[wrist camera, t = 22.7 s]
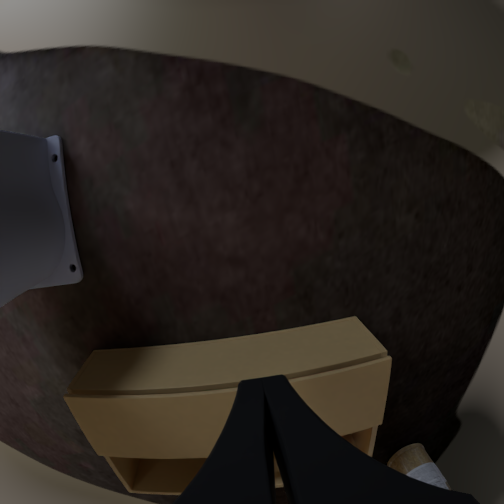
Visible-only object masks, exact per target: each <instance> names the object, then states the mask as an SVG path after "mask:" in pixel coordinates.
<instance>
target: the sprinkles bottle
mask: <svg viewBox="0 0 504 504" xmlns="http://www.w3.org/2000/svg"><path fill="white" fill-rule="evenodd" d="M387 466H388V467H390V468H393V469H395V470H397V471H399V472H401V473H403V474H405V475H407V476H409V477H412V478H415V479H417V480H420V481H423V482H425V483H428V484H431V485H434V486H437V487H441V488H444V489H449V490H451V488H450V487H449V485H448V483H447V481H446V479H445V478H444V476H443V475H442V473H441V472H440V470H439V469H438V467H437V466H436V464H435V463H433V461H432V460H431V458H430V457H429V455H428V454H427V453H426V451H425V449H424V446H423V445H422V444H420V443H415V444H411V445H408V446H406V447H404V448H402V449H400V450H399V451H397V452H396V453H395V454H394V455H393V456H392V457H391V458H390V459H389V461H388V463H387Z"/></svg>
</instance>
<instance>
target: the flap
mask: <svg viewBox="0 0 504 504" xmlns="http://www.w3.org/2000/svg"><path fill="white" fill-rule="evenodd" d="M391 363H392V358H391V357H390V356H387V357H384V358H380V359H377V360H373V361H369V362H365V363H362V364H358V365H354V366H350V367H346V368H341V369H337V370H333V371H328V372H324V373H319V374H314V375H309V376H304V377H299V378H294V379H288V381H289V382H290V384H291V385H292V387H293V388H294V389H295V391H296V392H297V393H298V394H299V396H300V397H301V398H302V399H303V400H304V402H305V403H306V404H307V405H308V406H309V407H310V408H311V409H312V410H313V411H314V412H315V413H316V414H317V415H318V416H319V417H320V418H321V419H322V420H323V421H324V422H325V423H326V424H327V425H328V426H329V427H331V428H332V429H333V430H334V431H335V432H336V433H338V434H339V435H340V436H343V435H347V434H351V433H354V432H358V431H361V430H365V429H368V428H371V427H374V426H378V425H381V424H382V421H383V416H384V410H385V404H386V399H387V392H388V386H389V379H390V371H391ZM237 389H238V387H236V388H228V389H219V390H209V391H198V392H186V393H172V394H152V395H80V394H64V396H63V397H64V399H65V401H66V403H67V405H68V407H69V408H70V410H71V412H72V414H73V416H74V417H75V419H76V421H77V423H78V424H79V426H80V428H81V429H82V431H83V433H84V434H85V436H86V437H87V439H88V441H89V442H90V444H91V445H92V447H93V448H94V450H95V451H96V453H97V454H98V455H100V456H111V457H124V458H146V459H186V458H208V456H209V454H210V453H211V451H212V449H213V447H214V445H215V443H216V442H217V440H218V438H219V436H220V434H221V432H222V430H223V428H224V426H225V423H226V421H227V418H228V416H229V414H230V411H231V409H232V406H233V403H234V400H235V397H236V393H237Z"/></svg>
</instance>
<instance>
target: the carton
mask: <svg viewBox="0 0 504 504" xmlns="http://www.w3.org/2000/svg"><path fill="white" fill-rule="evenodd" d="M384 357H387V350H386V349H385V348H384V347H383V345H382V344H381V343H380V342H379V341H378V340H377V339H376V338H375V337H374V336H373V334H372V333H371V332H370V331H369V330H368V329H367V328H366V327H365V326H364V325H363V324H362V322H361V321H360V320H359V319H358V318H357V317H356V316H353V317H349V318H344V319H339V320H334V321H329V322H324V323H319V324H314V325H308V326H303V327H297V328H291V329H286V330H280V331H273V332H267V333H261V334H254V335H247V336H240V337H233V338H225V339H218V340H209V341H201V342H192V343H183V344H172V345H162V346H150V347H137V348H122V349H104V350H93V352H92V353H91V355H90V356H89V357H88V359H87V360H86V362H85V363H84V364H83V366H82V367H81V369H80V370H79V372H78V373H77V374H76V376H75V377H74V379H73V380H72V382H71V383H70V385H69V386H68V387H67V391H68V393H69V394H80V395H152V394H172V393H186V392H198V391H206V390H216V389H225V388H233V387H238V383H239V382H240V381H241V380H247V379H254V378H261V377H268V376H274V375H280V374H283V375H284V376H286V378H287V379H292V378H297V377H303V376H308V375H313V374H318V373H322V372H327V371H331V370H337V369H341V368H346V367H350V366H354V365H358V364H362V363H365V362H369V361H373V360H377V359H380V358H384ZM377 428H378V426H374V427H371V428H368V429H365V430H361V431H358V432H354V433H351V434H347V435H343V436H341V437H343V438H344V439H345V440H347V441H348V442H349V443H351V444H352V445H353V446H355V447H356V448H358V449H359V450H361V451H362V452H364V453H365V454H367V455H369V456H370V457H372V454H373V449H374V444H375V439H376V433H377ZM273 455H274V452H273ZM104 457H105V458H106V460H107V461H108V463H109V464H110V466H111V467H112V469H113V470H114V472H115V473H116V475H117V476H118V478H119V479H120V480H121V482H122V483H123V485H124V486H125V487H126V489H127V490H128V491H129V492H131V493H144V494H162V495H180V494H181V493H182V492H183V491H184V490H185V488H186V487H187V486H188V485H189V483H190V482H191V481H192V480H193V478H194V477H195V476H196V474H197V473H198V471H199V470H200V468H201V467H202V465H203V464H204V462H205V461H206V459H207V458H186V459H146V458H124V457H111V456H104ZM274 473H275V488H278V487H284V485H283V482H282V478H281V475H280V472H279V469H278V465H277V462H276V458H275V455H274Z"/></svg>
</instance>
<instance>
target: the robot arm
mask: <svg viewBox="0 0 504 504" xmlns="http://www.w3.org/2000/svg"><path fill="white" fill-rule="evenodd" d="M56 155H57V156H58V160H57V161H56V162H55V160H54V159H55V156H56ZM72 264H74V265H75V266H76V270H74V269H73V268H72ZM82 279H83V271H82V267H81V262H80V258H79V254H78V249H77V244H76V239H75V234H74V229H73V223H72V218H71V212H70V205H69V199H68V192H67V184H66V176H65V167H64V157H63V144H62V139H61V137H59V136H56V135H55V136H51V137H48V138H41V137H36V136H31V135H26V134H20V133H15V132H9V131H3V130H0V307H2V306H3V305H5V304H6V303H8V302H9V301H11V300H13V299H14V298H16V297H17V296H19V295H20V294H22V293H24V292H25V291H27V290H28V289H36V288H43V287H51V286H58V285H66V284H73V283H78V282H80V281H81V280H82ZM273 452H274V455H275V458H276V462H277V465H278V469H279V472H280V475H281V478H282V482H283V485H284V488H285V492H286V495H287V498H288V501H289V504H480V503H479V502H478V501H477V500H476V499H475V498H474V497H473V496H472V495H471V494H466V493H462V492H457V491H453V490H449V489H444V488H441V487H437V486H434V485H431V484H428V483H425V482H423V481H420V480H417V479H415V478H412V477H409V476H407V475H405V474H403V473H401V472H399V471H397V470H395V469H393V468H390V467H388V466H386V465H384V464H382V463H380V462H379V461H377V460H375V459H374V458H372V457H370V456H369V455H367V454H365V453H364V452H362V451H361V450H359V449H358V448H356V447H355V446H353V445H352V444H351V443H349V442H348V441H347V440H345V439H344V438H343V437H341V436H340V435H339V434H338V433H336V432H335V431H334V430H333V429H332V428H331V427H329V426H328V425H327V424H326V423H325V422H324V421H323V420H322V419H321V418H320V417H319V416H318V415H317V414H316V413H315V412H314V411H313V410H312V409H311V408H310V407H309V406H308V405H307V404H306V403H305V402H304V400H303V399H302V398H301V397H300V396H299V394H298V393H297V392H296V391H295V389H294V388H293V387H292V385H291V384H290V382H289V381H288V379H287V378H286V376H284V375H283V374H280V375H274V376H268V377H261V378H254V379H247V380H241V381H240V382H239V383H238V389H237V393H236V397H235V400H234V403H233V406H232V409H231V411H230V414H229V416H228V418H227V421H226V423H225V426H224V428H223V430H222V432H221V434H220V436H219V438H218V440H217V442H216V443H215V445H214V447H213V449H212V451H211V453H210V454H209V456H208V458H207V459H206V461H205V462H204V464H203V465H202V467H201V468H200V470H199V471H198V473H197V474H196V476H195V477H194V478H193V480H192V481H191V482H190V483H189V485H188V486H187V487H186V488H185V490H184V491H183V492H182V493H181V494H180V496H179V497H178V498H177V499H176V500H175V501H174V502H173V503H172V504H276V491H275V473H274V455H273Z"/></svg>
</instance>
